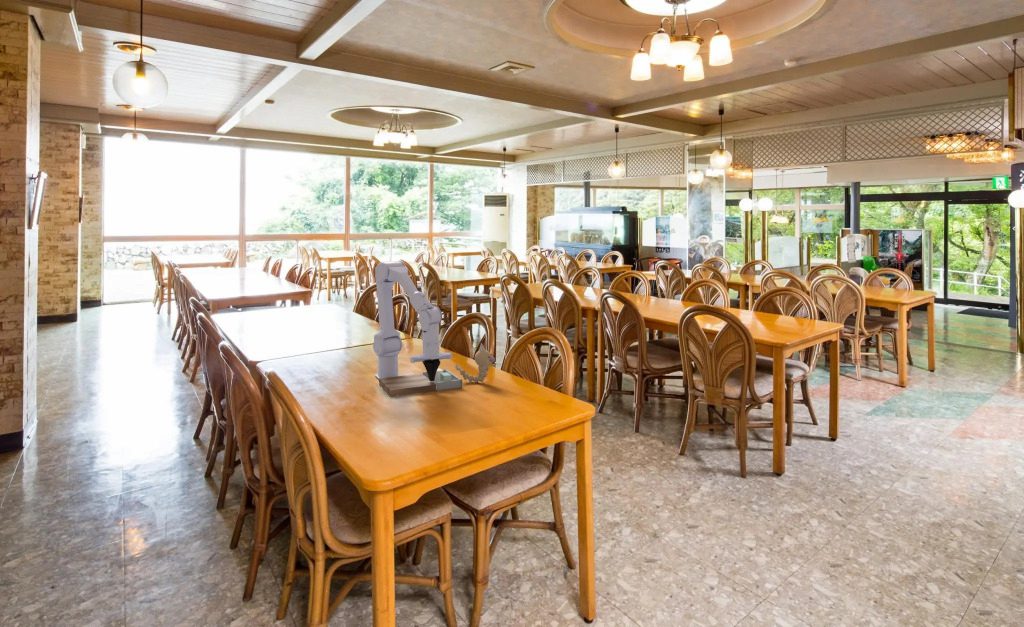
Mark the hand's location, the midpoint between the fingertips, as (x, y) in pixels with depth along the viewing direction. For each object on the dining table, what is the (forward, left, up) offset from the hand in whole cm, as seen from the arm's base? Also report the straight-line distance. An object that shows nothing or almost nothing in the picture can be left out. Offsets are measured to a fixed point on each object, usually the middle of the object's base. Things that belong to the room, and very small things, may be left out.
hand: (431, 380), depth 205 cm
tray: (-5, +5, -3) cm, 8 cm away
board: (-5, -8, -3) cm, 10 cm away
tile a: (-7, +3, 0) cm, 8 cm away
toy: (-2, +17, -3) cm, 17 cm away
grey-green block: (0, +4, 0) cm, 4 cm away
